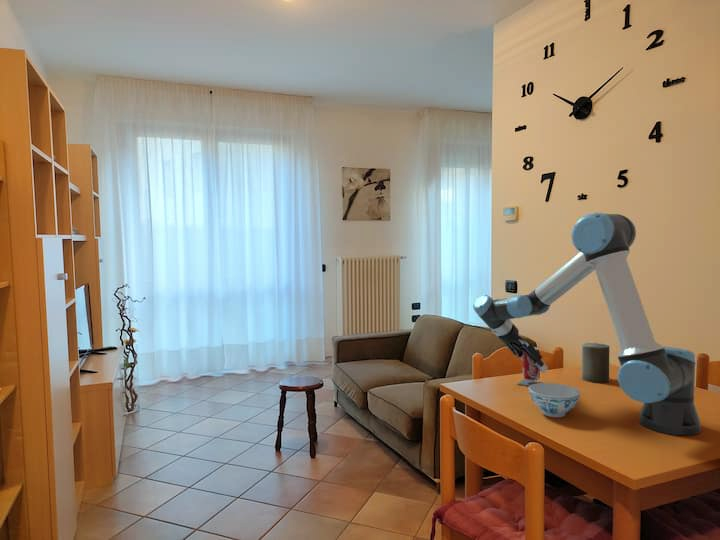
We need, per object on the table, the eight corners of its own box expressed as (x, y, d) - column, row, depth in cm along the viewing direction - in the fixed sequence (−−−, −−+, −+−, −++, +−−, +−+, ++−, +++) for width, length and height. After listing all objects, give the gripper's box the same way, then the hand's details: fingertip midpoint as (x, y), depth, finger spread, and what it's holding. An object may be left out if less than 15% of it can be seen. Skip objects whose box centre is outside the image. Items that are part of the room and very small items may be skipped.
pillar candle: (611, 383, 183) (612, 344, 183) (583, 381, 186) (583, 343, 186) (606, 377, 192) (607, 340, 192) (580, 375, 195) (580, 338, 195)
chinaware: (590, 416, 149) (590, 392, 149) (558, 425, 142) (558, 400, 141) (550, 403, 162) (550, 380, 162) (518, 410, 155) (518, 387, 154)
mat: (538, 388, 178) (538, 386, 178) (517, 384, 183) (517, 383, 183) (544, 384, 184) (544, 382, 184) (524, 380, 188) (524, 379, 188)
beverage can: (543, 380, 182) (543, 348, 181) (530, 382, 179) (530, 350, 179) (531, 376, 187) (532, 345, 187) (518, 378, 185) (519, 347, 184)
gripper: (482, 332, 185) (516, 369, 192) (516, 341, 168) (551, 382, 175) (493, 317, 187) (526, 355, 194) (528, 325, 169) (563, 366, 176)
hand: (538, 368), depth 184 cm, fingers closed on beverage can, 6 cm apart
